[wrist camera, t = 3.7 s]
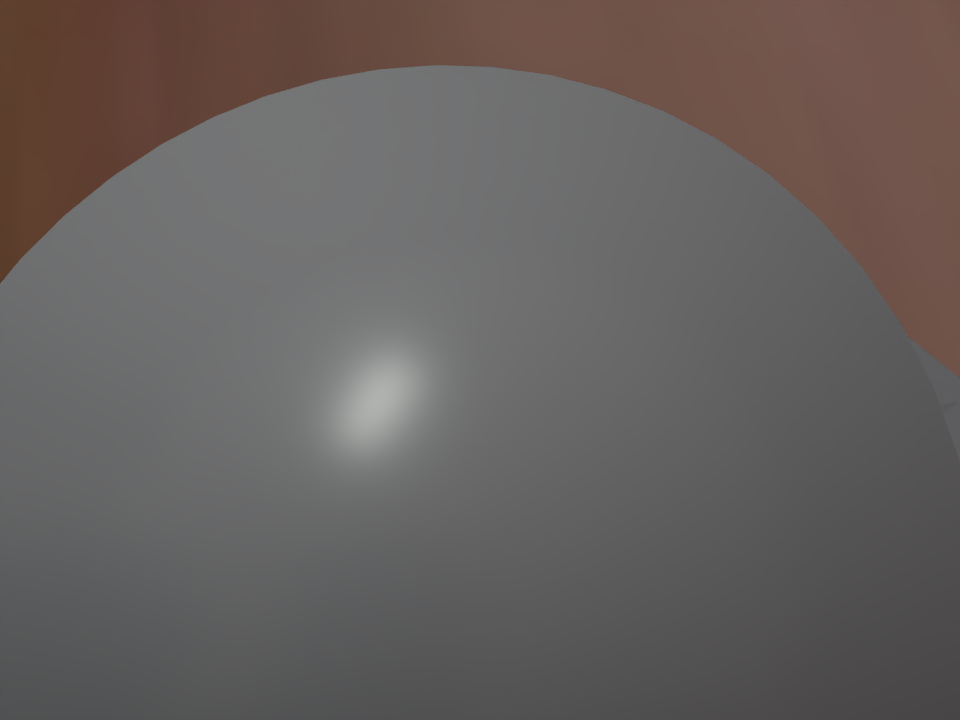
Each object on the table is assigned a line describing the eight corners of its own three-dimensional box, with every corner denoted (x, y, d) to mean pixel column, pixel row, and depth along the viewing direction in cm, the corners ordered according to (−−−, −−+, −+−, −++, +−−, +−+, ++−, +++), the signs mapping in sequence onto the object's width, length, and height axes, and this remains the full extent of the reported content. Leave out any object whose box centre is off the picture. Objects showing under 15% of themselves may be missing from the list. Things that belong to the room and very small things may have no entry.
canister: (636, 864, 14) (858, 1578, 3) (345, 746, 15) (-364, 884, 4) (712, 553, 15) (1048, 173, 4) (446, 469, 16) (160, -1, 5)
